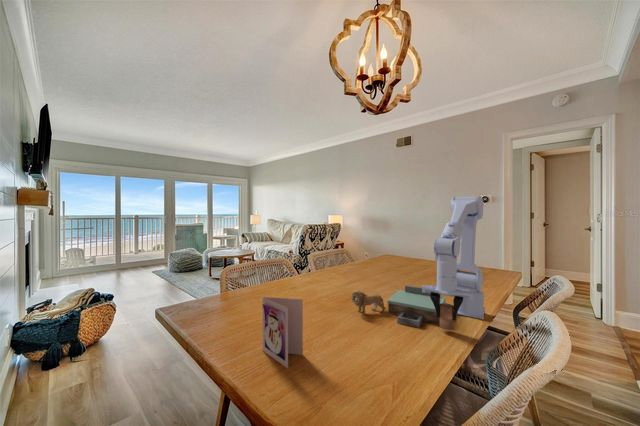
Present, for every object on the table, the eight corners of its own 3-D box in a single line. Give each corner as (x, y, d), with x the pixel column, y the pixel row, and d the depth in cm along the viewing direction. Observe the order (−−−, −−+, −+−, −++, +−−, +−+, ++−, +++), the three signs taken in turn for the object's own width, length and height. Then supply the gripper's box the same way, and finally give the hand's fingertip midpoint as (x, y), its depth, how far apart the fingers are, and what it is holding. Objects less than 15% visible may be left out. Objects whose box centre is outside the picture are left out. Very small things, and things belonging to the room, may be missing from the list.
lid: (445, 300, 100) (445, 291, 100) (439, 313, 87) (439, 302, 87) (398, 292, 110) (398, 283, 110) (387, 302, 97) (387, 293, 97)
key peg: (454, 326, 83) (454, 304, 83) (452, 331, 80) (452, 308, 80) (440, 323, 85) (440, 302, 85) (438, 328, 82) (438, 306, 82)
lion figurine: (355, 317, 94) (355, 293, 94) (348, 312, 99) (348, 289, 98) (389, 312, 99) (389, 288, 99) (381, 307, 104) (381, 285, 104)
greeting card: (260, 351, 71) (259, 297, 71) (282, 342, 76) (281, 291, 76) (285, 370, 63) (284, 308, 63) (307, 357, 68) (307, 301, 68)
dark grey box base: (445, 310, 100) (445, 300, 100) (437, 332, 83) (437, 319, 82) (398, 301, 110) (398, 292, 110) (382, 319, 92) (382, 308, 92)
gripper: (420, 275, 83) (420, 317, 83) (472, 281, 75) (472, 328, 75) (424, 270, 89) (424, 310, 89) (473, 276, 81) (473, 319, 81)
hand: (446, 318), depth 83 cm, fingers closed on key peg, 4 cm apart
